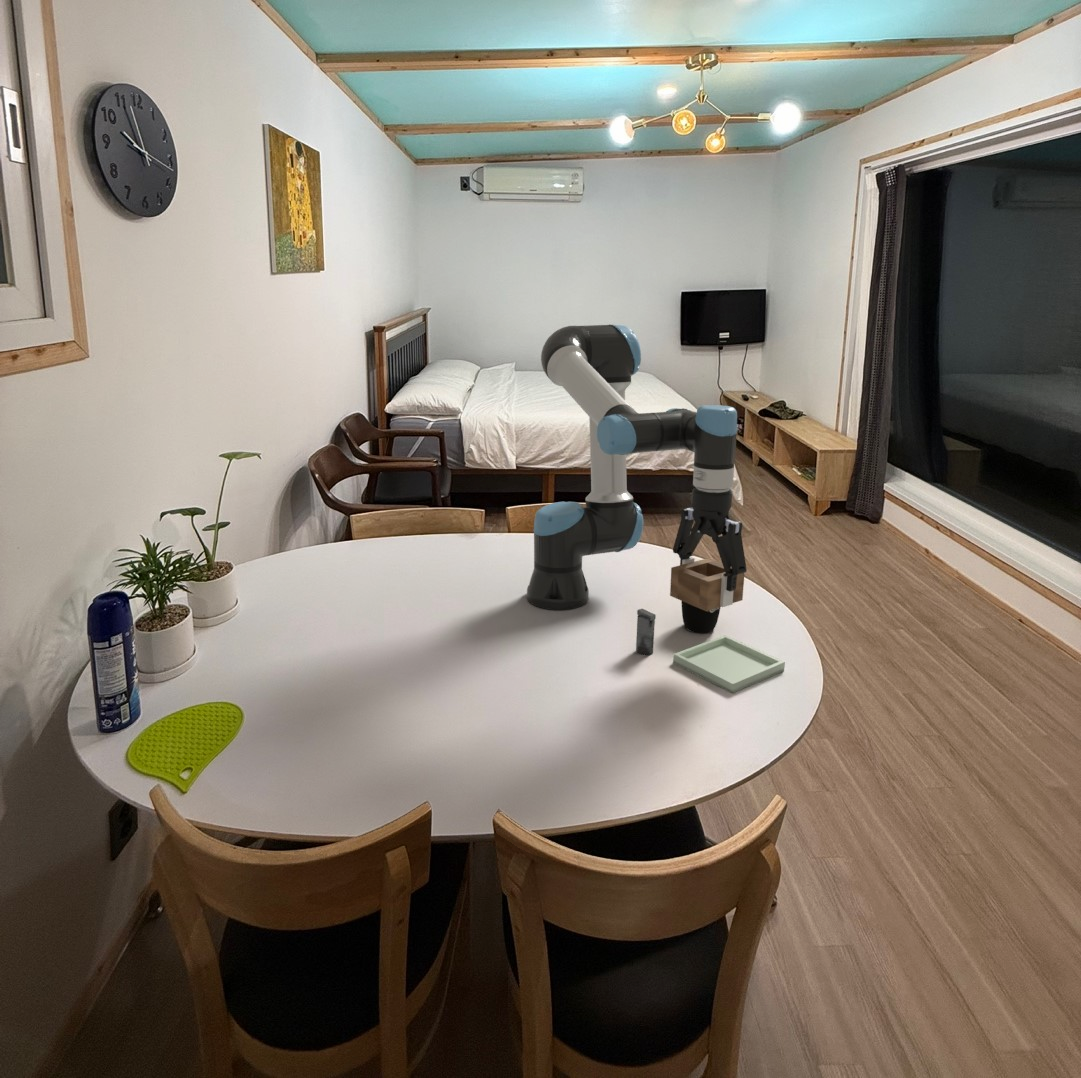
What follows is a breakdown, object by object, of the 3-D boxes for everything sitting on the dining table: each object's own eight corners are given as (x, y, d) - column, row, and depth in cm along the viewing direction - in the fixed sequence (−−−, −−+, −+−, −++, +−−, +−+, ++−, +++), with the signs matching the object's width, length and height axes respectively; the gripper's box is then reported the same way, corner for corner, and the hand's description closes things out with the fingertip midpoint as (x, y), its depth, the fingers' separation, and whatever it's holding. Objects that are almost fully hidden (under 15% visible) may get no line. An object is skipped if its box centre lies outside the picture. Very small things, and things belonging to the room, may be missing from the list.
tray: (673, 662, 164) (673, 654, 164) (724, 643, 173) (725, 635, 172) (732, 693, 152) (732, 684, 152) (784, 670, 161) (785, 661, 160)
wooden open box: (705, 585, 166) (707, 558, 164) (742, 600, 158) (744, 571, 156) (670, 595, 161) (671, 567, 159) (706, 611, 153) (708, 581, 151)
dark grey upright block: (631, 650, 169) (633, 611, 167) (644, 646, 172) (646, 607, 169) (644, 657, 166) (646, 617, 164) (657, 652, 168) (659, 613, 166)
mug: (706, 639, 175) (709, 596, 172) (671, 628, 180) (674, 586, 177) (733, 623, 183) (737, 581, 180) (699, 612, 189) (702, 572, 186)
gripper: (657, 479, 160) (653, 584, 166) (744, 502, 142) (736, 619, 148) (684, 475, 164) (679, 577, 170) (772, 496, 146) (763, 610, 152)
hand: (705, 597), depth 159 cm, fingers closed on wooden open box, 10 cm apart
